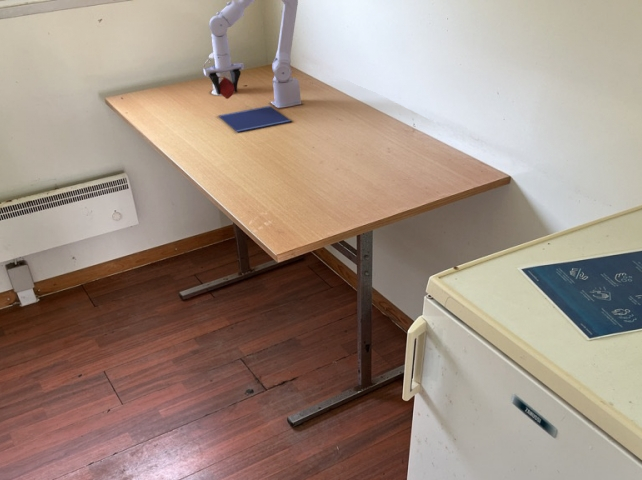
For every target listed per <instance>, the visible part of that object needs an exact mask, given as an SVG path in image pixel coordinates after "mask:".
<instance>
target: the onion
mask: <svg viewBox="0 0 642 480" xmlns="http://www.w3.org/2000/svg"><path fill="white" fill-rule="evenodd" d="M222 79H223V80H222V81H220V83H219V88H220V94H221V95H220V96H222V97H224V99H226V100H229V99H230V98H231V97H232V96H233V95H234V91H235V88H234V85H233V83H232V82H231V81H230V80H229V79H227V78H226V77H225V76H223V78H222Z"/></svg>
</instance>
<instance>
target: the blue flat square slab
mask: <svg viewBox="0 0 642 480" xmlns="http://www.w3.org/2000/svg"><path fill="white" fill-rule="evenodd" d="M218 117H219V118H220V119H221V120H222V121H223V122H224V123H226V124H227V125H228V126H229V127H231V128H232V129H233V130H234V131H235V132H236V133H238V134H239V133H245V132H250V131H253V130H259V129H265V128H270V127H273V126H279V125H284V124H289V123H292V120H291V119H289V118H288V117H286V116H285V115H284V114H282V113H280V112H279V111H278V110H276V109H275V108H273V107H272V106H270V105H268V106H263V107H256V108H251V109H247V110H242V111H235V112H231V113H225V114H219V115H218Z"/></svg>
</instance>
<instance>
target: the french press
mask: <svg viewBox="0 0 642 480" xmlns="http://www.w3.org/2000/svg"><path fill="white" fill-rule="evenodd" d="M211 60H215V59H214V53H213V52H211V53H210V54H209V55H208V59H206V60H205V62H204V63H203V66H202V69H206V63H209V64H211V63H212V61H211ZM213 66H215V64H213V65H211V67H213ZM216 74H217V76H218V77H219V83H220V82H221V81H222V80H223V76H225V77H226V78H227V79H229V80H230V81H231V82H232V78H231V73H230V71H228V72H222V73H216ZM204 76H205V77H206V78H207V79H208V80H210V81H211V84H212V91H211V95H213V96H222V95H221V94H220V95H218V94H217V92H216V89H215V86H214V84H213V82H212V80H211V79H210V77H209V76H208V75H207V76H206V75H204ZM234 93H236V92H235V91H234ZM234 93H233V94H234Z"/></svg>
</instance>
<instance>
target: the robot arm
mask: <svg viewBox="0 0 642 480" xmlns="http://www.w3.org/2000/svg"><path fill="white" fill-rule="evenodd" d="M255 1H256V0H229V1H227V2H226V6H225V7H224V8H222V9H221V10H220V11H217V12H216V15H213V16H211V18H210V19H209V23H208V26H209V30H210V32H211V34H210V35H211V45H212V53H214V59H213V60H214V65H215V66H213V65H212V66H213V67H212V66H210V67H205V69H203V68H202V69H203V75H204V76H205V75H206V76H207V75H208V76H209V77H210V79H211V80H210V79H209V80H210V81H211V83H212V82H213V84H214V86H215V89H216V92H217V94H218V95H217V96H221V95H220V88H219V77H218V76H217V74H216V73H225V72H228V71H230V73H231V78H232V83H233V85H234V88H235V93H236V92H238V84H239V79H240V76H241V75H242V74H241V71H242V70H244V69H245V66H244V63H242V62H236V63H232V59H231V52H230V51H231V50H230V43H229V38H228V35H227V32H228V28H231V27H233V25H234V24H236V23H237V22H238V21H239V20H240V19H241V18H242V17H243V16H244V15H245V10H246V8H248V7H249V6H250V5H252V4H253V3H255ZM281 1H282V3H283V7H282V14H281V21H280V28H279V29H280V31H279V35H278V42H277V43H278V45H277V50H276V53H275V57H274V60H273V62H272V63H271V70H272V72H273V74H274V76H273V78H272V87H273V98H274V101H270V104H271V105H273V106H274V107H276V108H278V109H283V108H289V107H294V106H299V105H302V102H301V101H302V100H301V86H300V85H301V84H300V82H299V79H297V77H292V74H293V71H292V68H291V63H292V62H291V61H292V59H291V53H292V45H293V41H294V33H295V26H296V18H297V11H298V4H299V0H281ZM206 76H205V77H206ZM208 76H207V77H208ZM209 77H208V78H209Z"/></svg>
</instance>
